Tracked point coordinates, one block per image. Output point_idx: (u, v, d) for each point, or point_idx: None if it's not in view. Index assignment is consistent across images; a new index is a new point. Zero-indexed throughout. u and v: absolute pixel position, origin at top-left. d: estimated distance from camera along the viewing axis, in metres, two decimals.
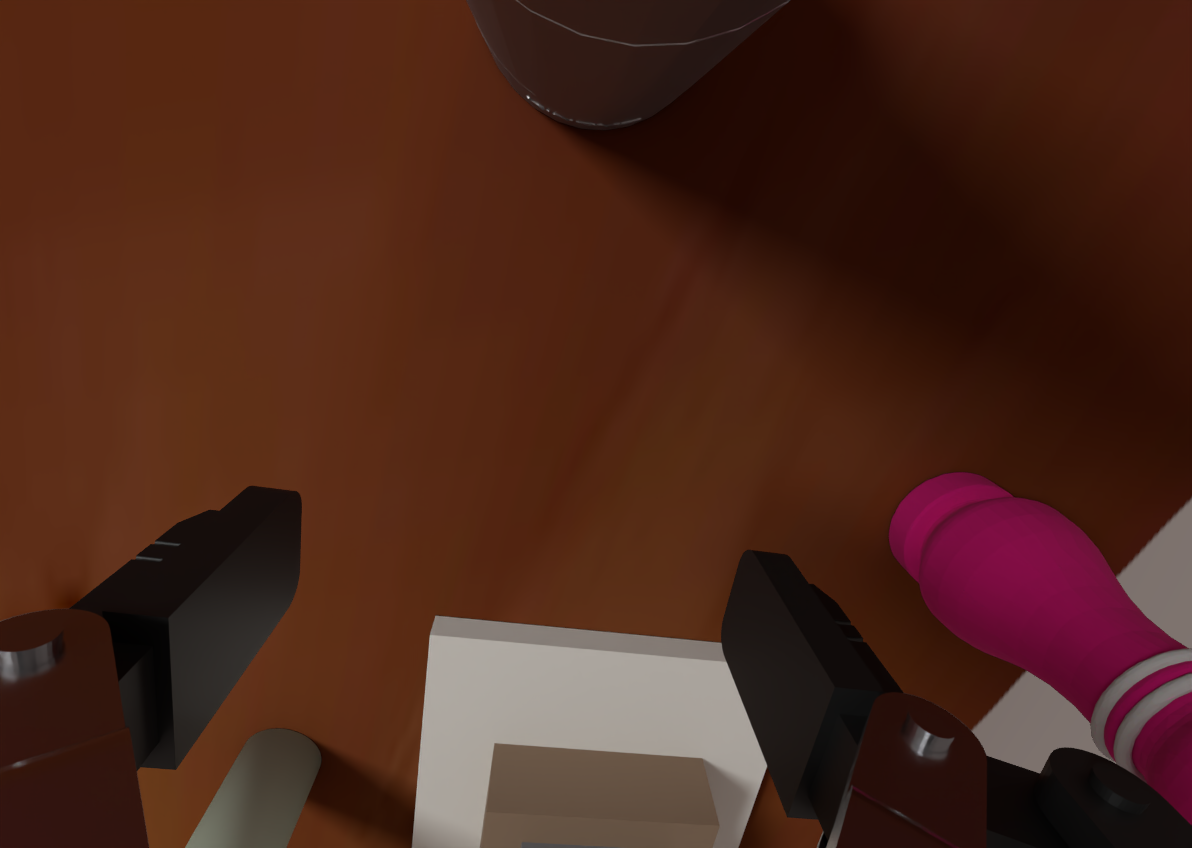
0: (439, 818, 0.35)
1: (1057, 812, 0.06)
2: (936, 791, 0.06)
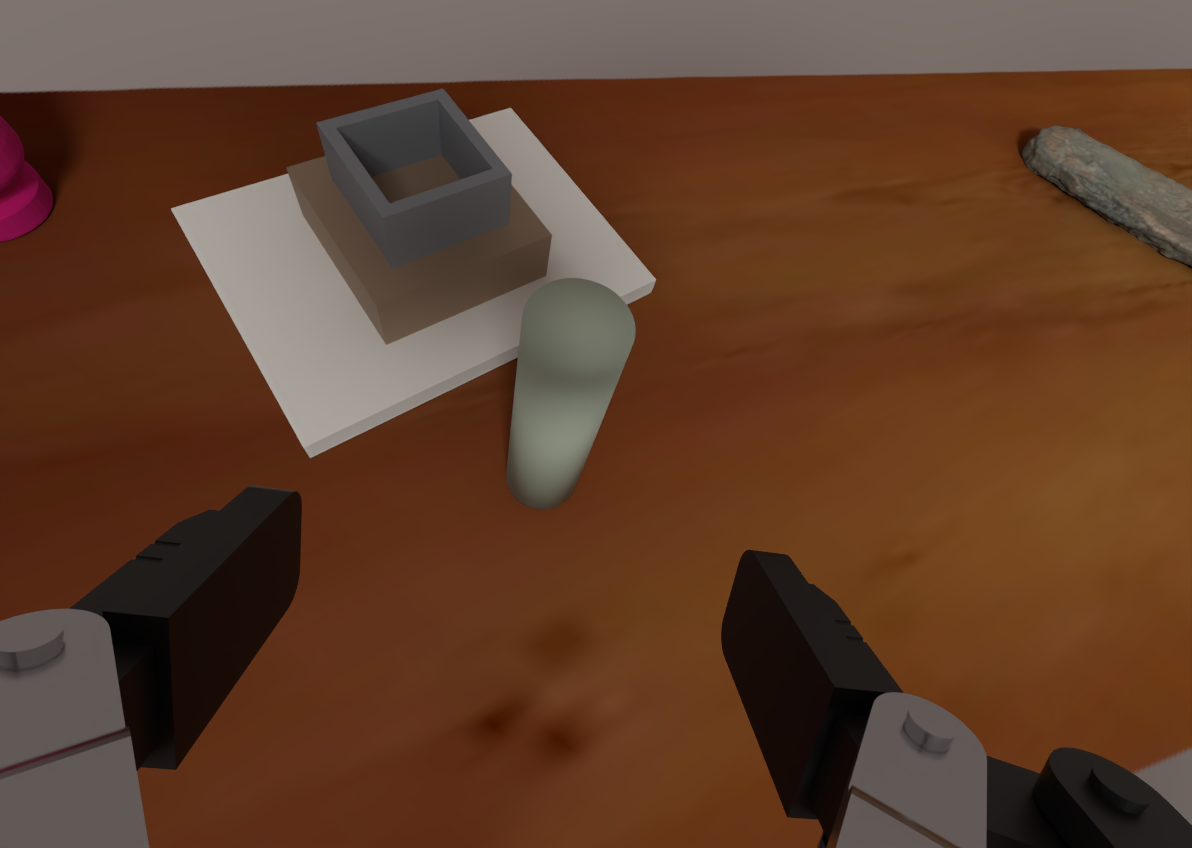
0: (492, 335, 0.39)
1: (1057, 812, 0.06)
2: (935, 791, 0.06)
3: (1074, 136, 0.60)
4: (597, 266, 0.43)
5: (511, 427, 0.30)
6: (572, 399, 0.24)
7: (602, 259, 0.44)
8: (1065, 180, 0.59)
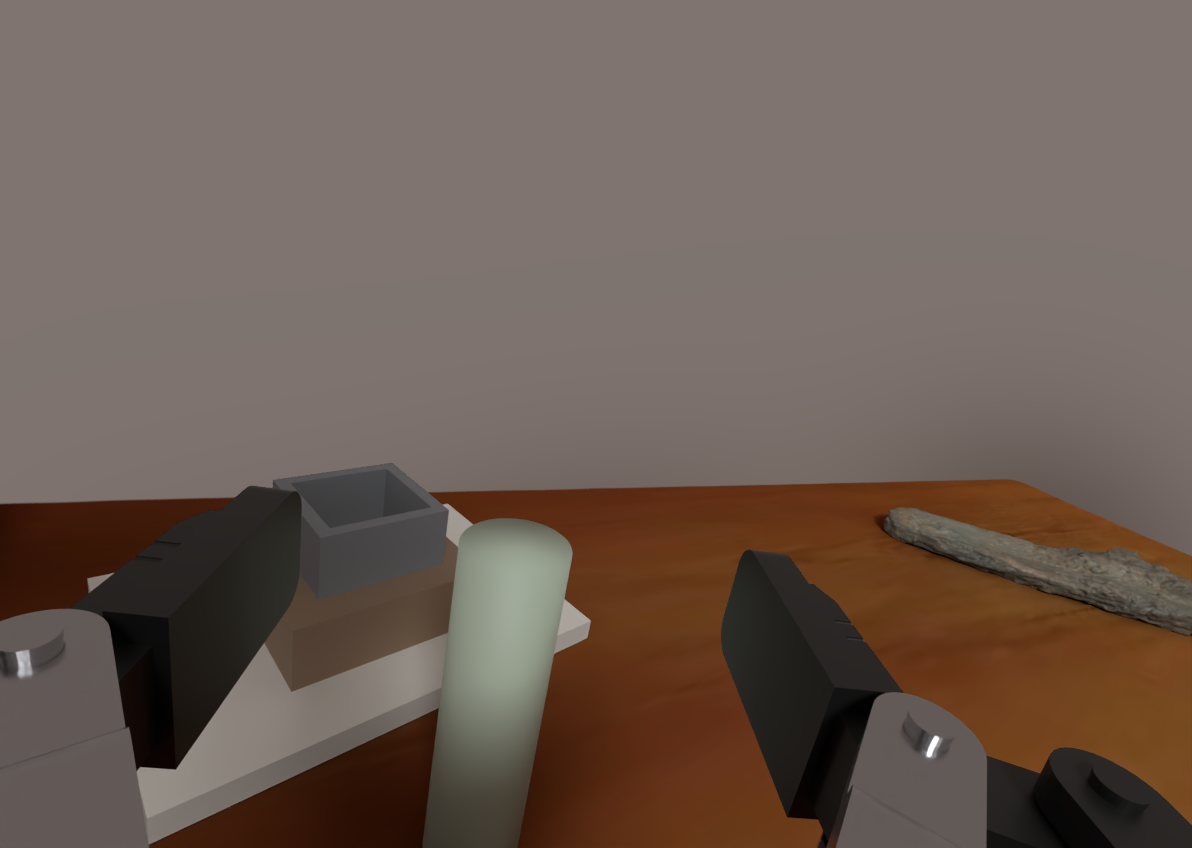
0: (417, 677, 0.35)
1: (1057, 812, 0.06)
2: (936, 791, 0.06)
3: (916, 512, 0.73)
4: None
5: (436, 730, 0.25)
6: (511, 626, 0.22)
7: None
8: (929, 542, 0.68)
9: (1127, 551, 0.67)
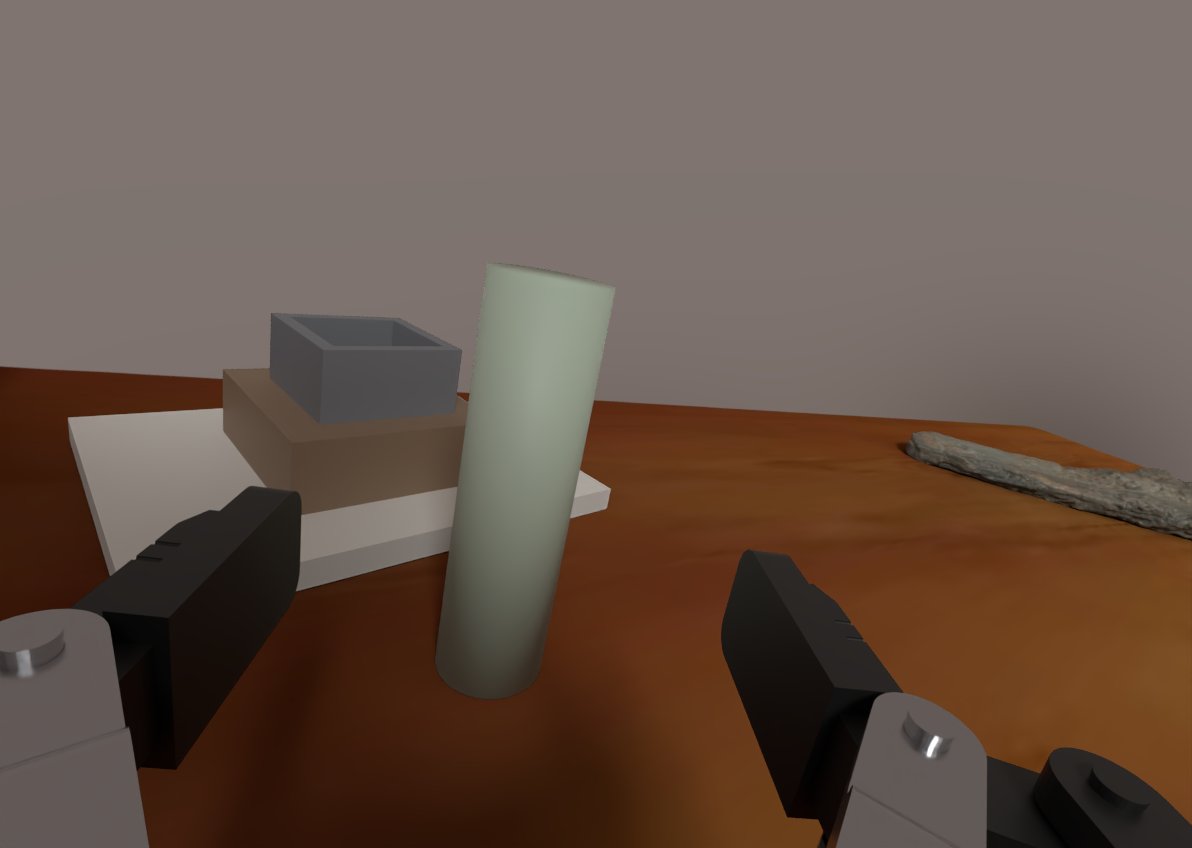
0: (427, 516, 0.32)
1: (1057, 812, 0.06)
2: (936, 791, 0.06)
3: (940, 436, 0.70)
4: None
5: (455, 507, 0.22)
6: (547, 350, 0.19)
7: None
8: (956, 463, 0.65)
9: (1158, 470, 0.65)
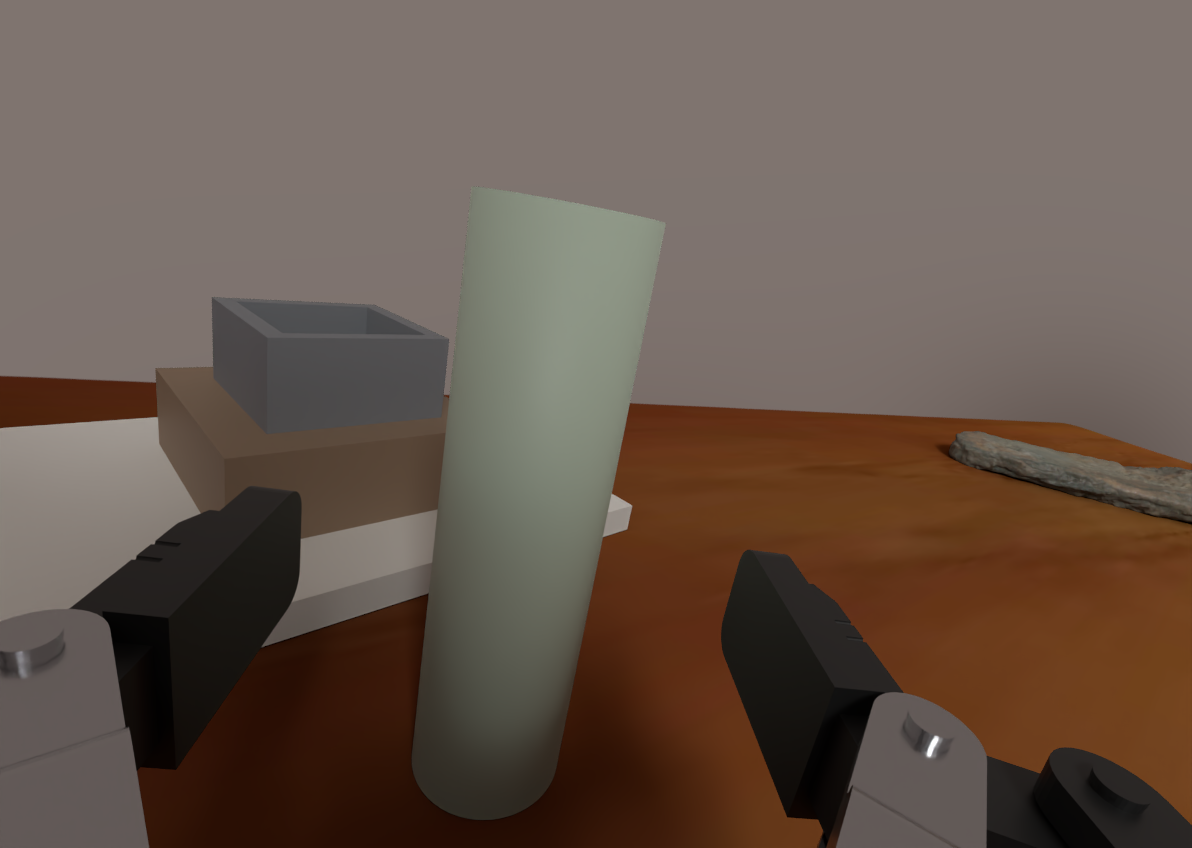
0: (407, 548, 0.26)
1: (1057, 812, 0.06)
2: (936, 791, 0.06)
3: (986, 436, 0.63)
4: None
5: (433, 549, 0.15)
6: (567, 312, 0.12)
7: None
8: (1011, 466, 0.58)
9: None
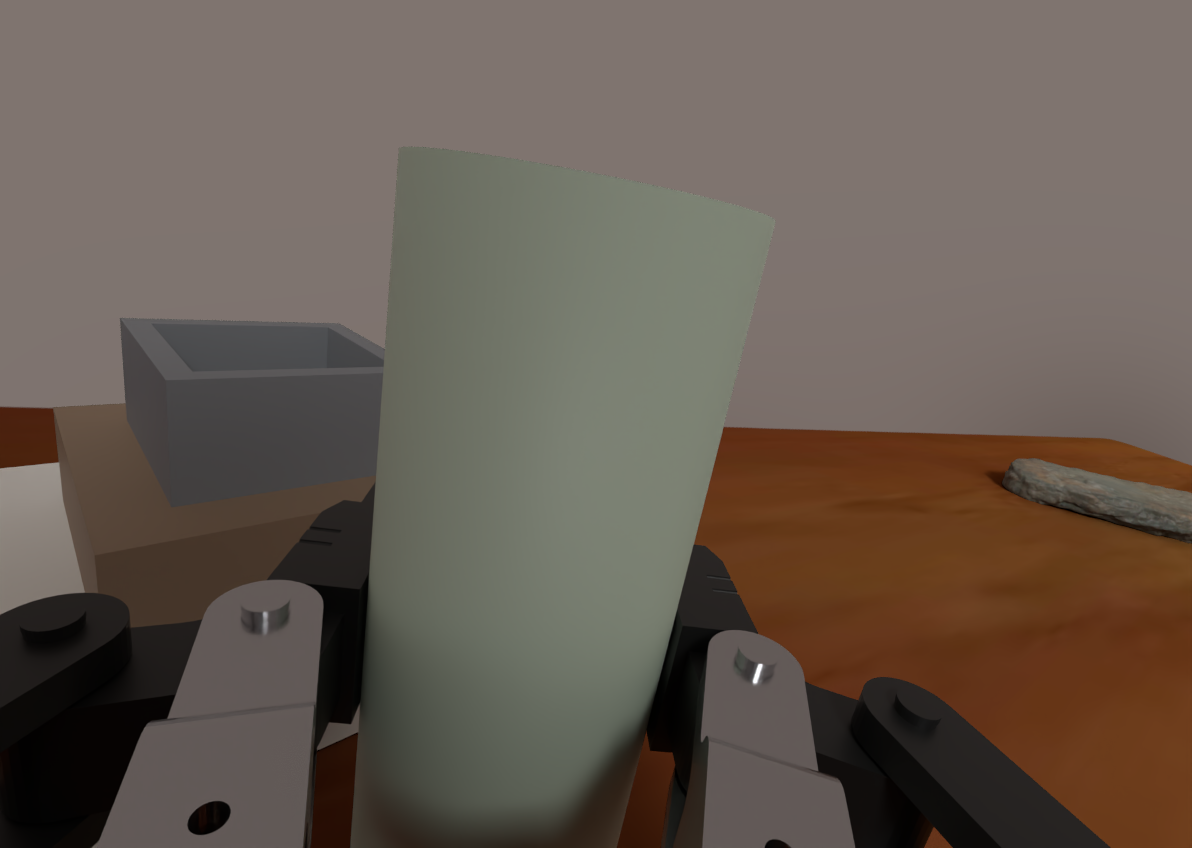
0: None
1: (874, 745, 0.07)
2: (741, 706, 0.07)
3: (1044, 464, 0.55)
4: None
5: (355, 775, 0.09)
6: (590, 408, 0.06)
7: None
8: (1081, 502, 0.51)
9: None
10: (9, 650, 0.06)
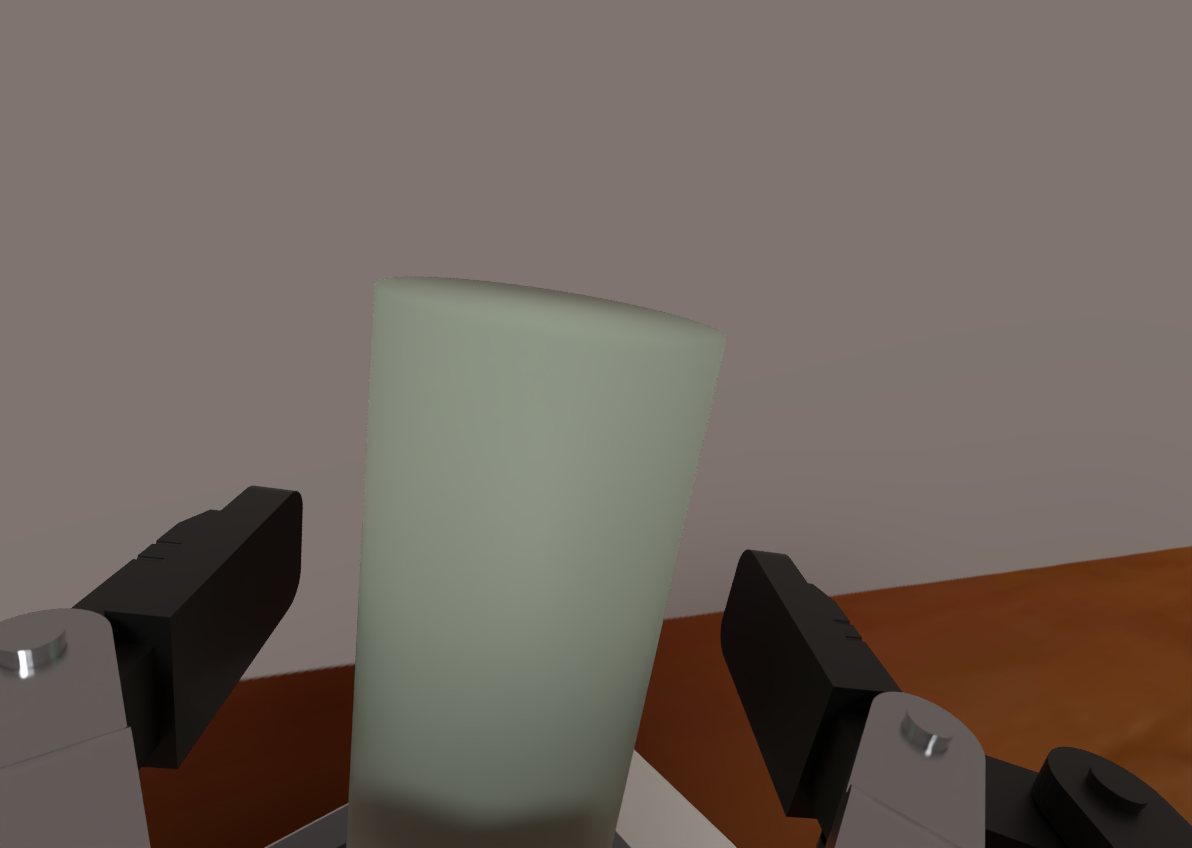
0: None
1: (1055, 811, 0.06)
2: (935, 790, 0.06)
3: None
4: None
5: (346, 844, 0.10)
6: (551, 532, 0.06)
7: None
8: None
9: None
10: None
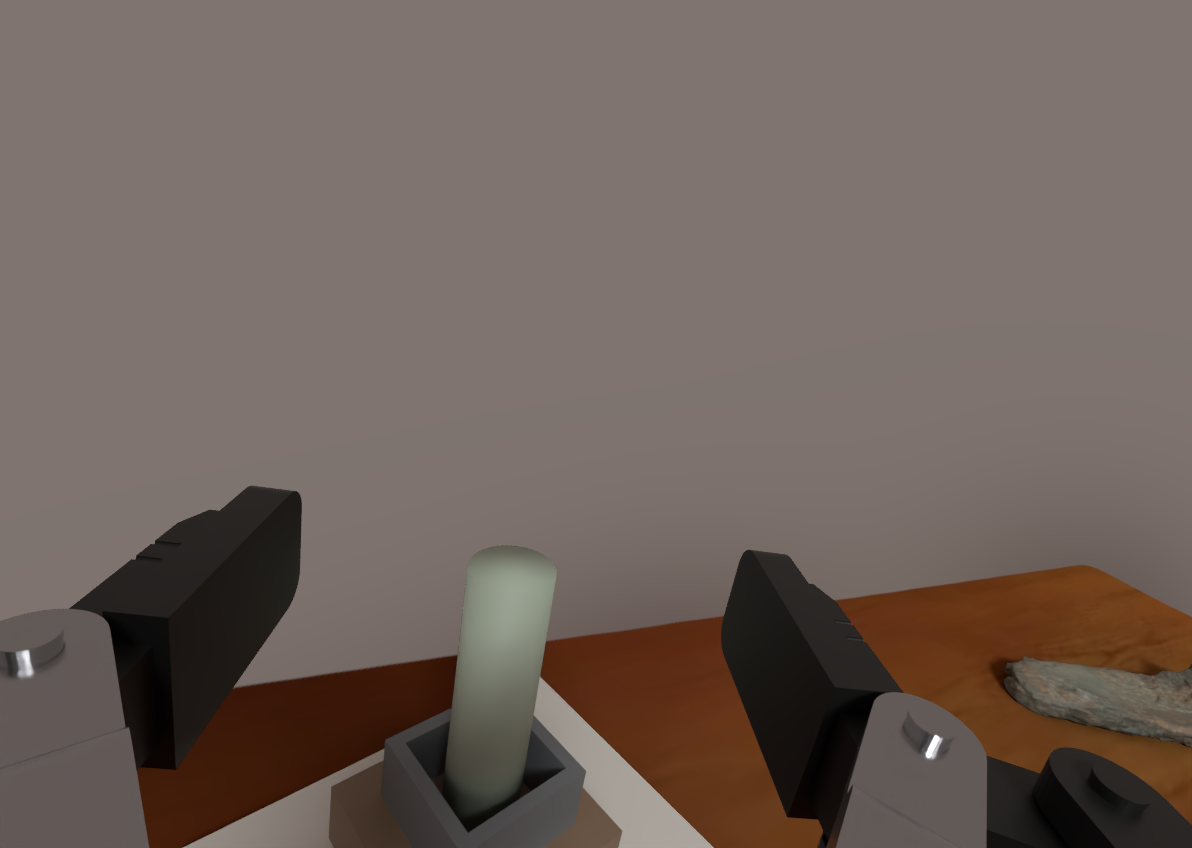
0: None
1: (1057, 812, 0.06)
2: (936, 791, 0.06)
3: (1036, 668, 0.63)
4: None
5: (451, 714, 0.32)
6: (508, 631, 0.28)
7: (665, 844, 0.39)
8: (1079, 716, 0.59)
9: None
10: None
